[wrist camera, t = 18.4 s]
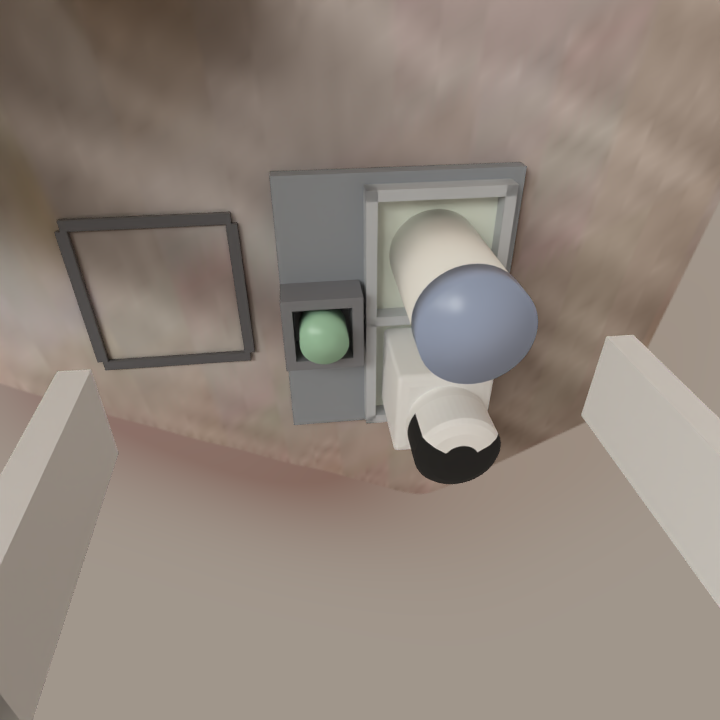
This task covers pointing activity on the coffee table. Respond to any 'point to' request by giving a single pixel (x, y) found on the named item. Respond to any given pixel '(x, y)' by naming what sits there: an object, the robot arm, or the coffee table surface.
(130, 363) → the frame
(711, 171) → the coffee table surface
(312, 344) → the button
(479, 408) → the medicine bottle
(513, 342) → the cream and blue canister
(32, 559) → the robot arm
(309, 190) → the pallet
